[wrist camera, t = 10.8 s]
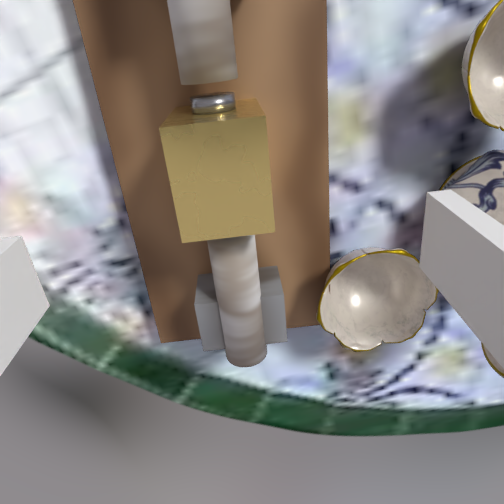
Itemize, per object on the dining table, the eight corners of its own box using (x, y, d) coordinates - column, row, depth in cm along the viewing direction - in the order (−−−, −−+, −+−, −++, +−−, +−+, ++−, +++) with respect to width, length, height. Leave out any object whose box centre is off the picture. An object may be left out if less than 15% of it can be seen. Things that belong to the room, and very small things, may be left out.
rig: (315, -157, 21) (352, -239, 15) (325, 309, 35) (346, 366, 29) (51, -128, 21) (-21, -199, 15) (164, 328, 35) (151, 389, 29)
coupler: (254, 84, 25) (264, 97, 19) (265, 201, 28) (276, 245, 22) (172, 93, 25) (155, 109, 19) (193, 209, 28) (184, 256, 22)
